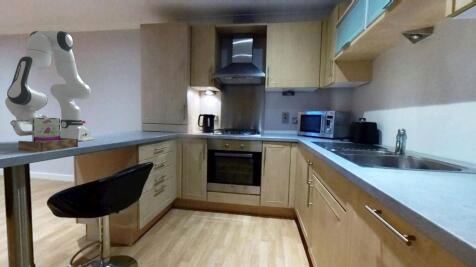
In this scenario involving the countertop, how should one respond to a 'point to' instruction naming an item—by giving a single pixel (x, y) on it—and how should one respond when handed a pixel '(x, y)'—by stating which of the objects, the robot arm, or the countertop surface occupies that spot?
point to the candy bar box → (45, 129)
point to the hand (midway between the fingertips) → (45, 139)
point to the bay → (48, 145)
